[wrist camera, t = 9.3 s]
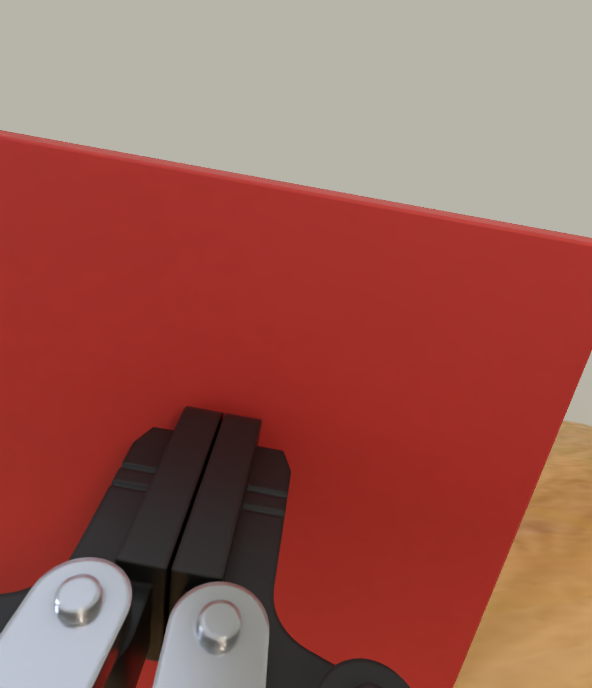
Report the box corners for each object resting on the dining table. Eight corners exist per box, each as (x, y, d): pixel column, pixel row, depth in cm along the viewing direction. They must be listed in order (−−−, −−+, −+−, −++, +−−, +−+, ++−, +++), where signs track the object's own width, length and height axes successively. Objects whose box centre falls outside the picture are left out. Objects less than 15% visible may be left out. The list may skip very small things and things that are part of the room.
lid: (-83, 114, 10) (-117, 114, 9) (612, 241, 10) (634, 250, 9) (-27, 712, 16) (-45, 741, 15) (395, 791, 16) (398, 823, 15)
